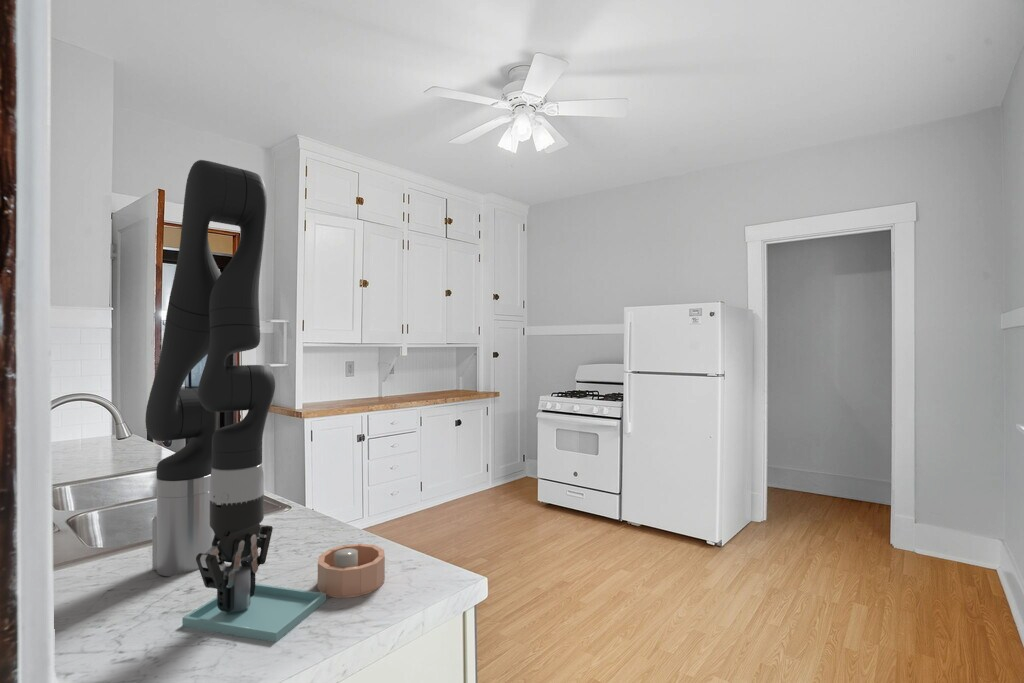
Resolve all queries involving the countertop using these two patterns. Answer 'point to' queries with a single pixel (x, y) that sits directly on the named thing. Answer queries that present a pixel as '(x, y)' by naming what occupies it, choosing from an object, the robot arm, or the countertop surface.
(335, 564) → the beige rounded cylinder
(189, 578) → the countertop surface
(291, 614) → the tray
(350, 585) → the bowl
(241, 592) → the grey rounded cylinder
